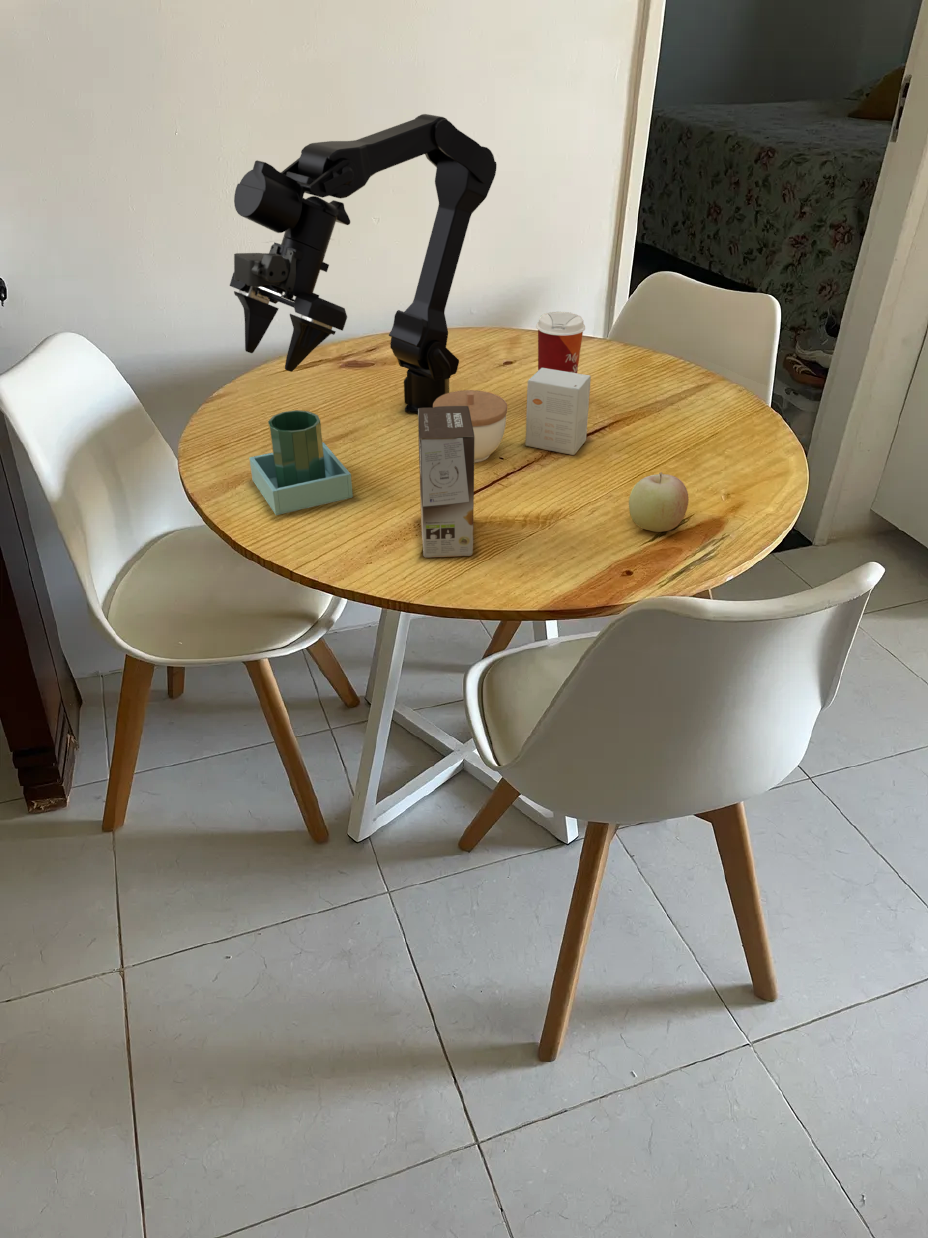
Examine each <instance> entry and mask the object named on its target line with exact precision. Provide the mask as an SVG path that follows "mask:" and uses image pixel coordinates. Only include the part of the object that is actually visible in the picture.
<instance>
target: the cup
mask: <svg viewBox="0 0 928 1238" xmlns="http://www.w3.org/2000/svg"><path fill="white" fill-rule="evenodd" d="M267 424H268V433H269V440H270V447H271V453H272V455H273V463H274V470H275V478H276V485H277V488H281V487H286V486H290V485H295V484H299V483H304V482H308V481H313V480H317V479H322V478H326V475H325V465H324V454H323V444H322V442H323V435H322V434H323V433H322V423H321V419H320V416H319V415H318V414H316V413H314V412H312V411H308V410H298V409H295V410H286V411H282V412H279V413H277V414H274V415H272V417H270V419H269V420H268V421H267Z"/></svg>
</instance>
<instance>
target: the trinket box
mask: <svg viewBox="0 0 928 1238" xmlns="http://www.w3.org/2000/svg"><path fill="white" fill-rule="evenodd" d="M438 406H468V407H469V411H470V416H471V421H472V426H473V431H474V436H475V440H474V464H475V463H480V462H483V461H485V460H488V458H490V456H491V454H493V453H494V452H495V451H496V450H497V449H498V448H499V446H500V445H501V443H502V441H503V440H504V439H503V438H504V435H505V431H506V426H507V415H508V409H509V408H508V403H507V401H506V400H505V399H504V398H503V397H502V396H500V395H498V394H495V393H493V392H489V391H484V390H479V389H477V390H475V389H464V390H454V391H451V392H450V391H449V393H447V394H444V395H442V396H440V397H439V398H437V399H436V400H435V402H434V403H433V408H434V407H438Z"/></svg>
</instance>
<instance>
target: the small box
mask: <svg viewBox="0 0 928 1238" xmlns="http://www.w3.org/2000/svg"><path fill="white" fill-rule="evenodd" d="M591 380H592V376H591V375H590V374H583V373H578V372H577V373H572V372H566V371H559V370H553V369H547V368H541V369H539V370H538V369H537V371H536V372H535V373H534V374H532V376H531V377H530V378H529V379H528V380H527V388H526V389H527V390H526V415H525V416H526V417H525V446H526V447H530V448H535V449H540V450H545V451H550V452H555V453H560V454H566V455H570V456H575V455H576V454H577V453H578V451H579V450H580V449H581V447H582V446H583V444H584V443H585V442H586V441H587V433H588V420H589V406H590V394H591Z"/></svg>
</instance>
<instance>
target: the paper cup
mask: <svg viewBox="0 0 928 1238" xmlns="http://www.w3.org/2000/svg"><path fill="white" fill-rule="evenodd" d="M535 328H536V329H537V371H538V370H539V369H541V368H547V369H553V370H559V371H566V372H572V373H578V371H579V370H578V369H579V363H580V355H581V347H582V343H583V335H584V331H585V330H586V325H585V324H584V318H583V317H582V316H581V315H579V314H577V313H573V312H568V311H550V312H546V313H543V314H541V315H540V317H539V318H538V322H537V323H536V325H535Z"/></svg>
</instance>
